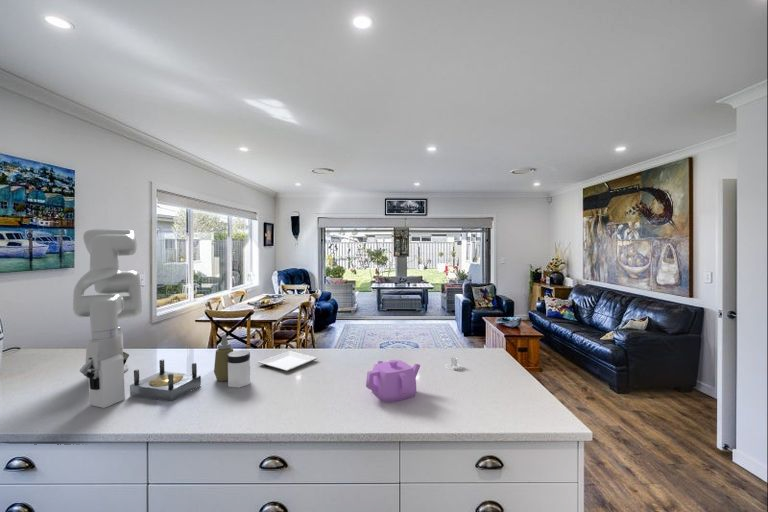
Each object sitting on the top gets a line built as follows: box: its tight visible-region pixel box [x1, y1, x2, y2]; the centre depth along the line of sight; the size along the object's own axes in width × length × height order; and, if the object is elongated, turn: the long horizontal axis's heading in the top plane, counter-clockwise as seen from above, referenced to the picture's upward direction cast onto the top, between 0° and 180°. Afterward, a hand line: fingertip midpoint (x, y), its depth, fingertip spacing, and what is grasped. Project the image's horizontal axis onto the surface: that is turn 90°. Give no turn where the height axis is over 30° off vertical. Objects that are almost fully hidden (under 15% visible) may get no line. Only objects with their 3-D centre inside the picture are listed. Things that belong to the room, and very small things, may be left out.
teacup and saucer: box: [444, 356, 464, 371], centre depth 162 cm, size 9×8×4 cm
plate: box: [257, 350, 318, 372], centre depth 166 cm, size 19×19×2 cm
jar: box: [227, 349, 251, 389], centre depth 143 cm, size 9×8×12 cm
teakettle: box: [365, 359, 421, 404], centre depth 135 cm, size 17×17×12 cm
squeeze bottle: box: [213, 334, 234, 382], centre depth 147 cm, size 8×8×18 cm
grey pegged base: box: [129, 359, 202, 403], centre depth 136 cm, size 18×14×9 cm
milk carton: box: [87, 354, 126, 409], centre depth 126 cm, size 7×7×19 cm
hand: (106, 384), depth 127 cm, fingers closed on milk carton, 7 cm apart
